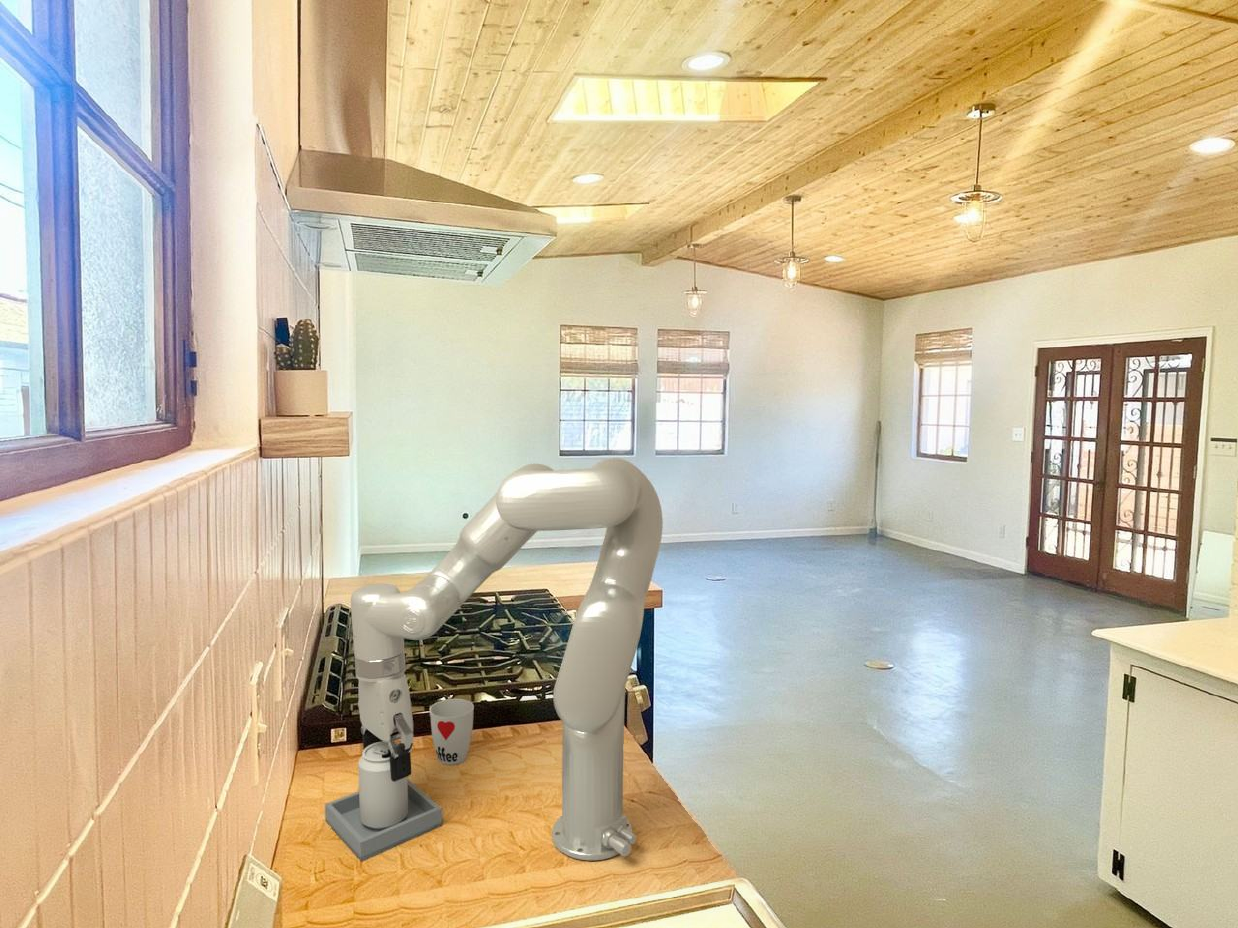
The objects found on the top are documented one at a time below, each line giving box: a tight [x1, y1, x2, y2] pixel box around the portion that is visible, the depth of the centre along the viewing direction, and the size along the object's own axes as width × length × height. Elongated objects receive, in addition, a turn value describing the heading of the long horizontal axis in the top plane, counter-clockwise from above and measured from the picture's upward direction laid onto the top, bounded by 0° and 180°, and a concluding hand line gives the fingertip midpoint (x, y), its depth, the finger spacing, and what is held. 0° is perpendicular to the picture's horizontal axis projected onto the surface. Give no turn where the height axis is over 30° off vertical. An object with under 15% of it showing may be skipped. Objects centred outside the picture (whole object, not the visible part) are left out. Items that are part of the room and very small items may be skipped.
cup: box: [429, 698, 475, 766], centre depth 142 cm, size 8×8×10 cm
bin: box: [324, 778, 443, 862], centre depth 121 cm, size 14×14×3 cm
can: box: [357, 741, 408, 830], centre depth 121 cm, size 8×8×12 cm
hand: (387, 766), depth 120 cm, fingers open, 9 cm apart
